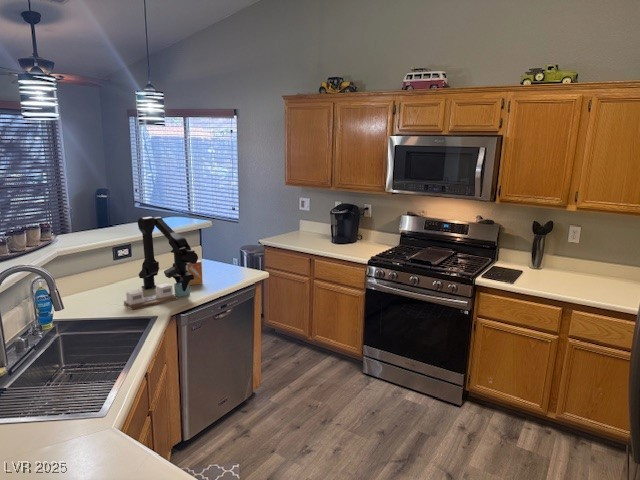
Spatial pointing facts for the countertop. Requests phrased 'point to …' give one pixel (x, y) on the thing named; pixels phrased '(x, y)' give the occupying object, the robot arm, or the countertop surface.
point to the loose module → (181, 290)
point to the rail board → (150, 302)
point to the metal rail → (149, 299)
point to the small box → (195, 272)
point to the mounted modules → (137, 295)
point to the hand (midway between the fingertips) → (182, 289)
